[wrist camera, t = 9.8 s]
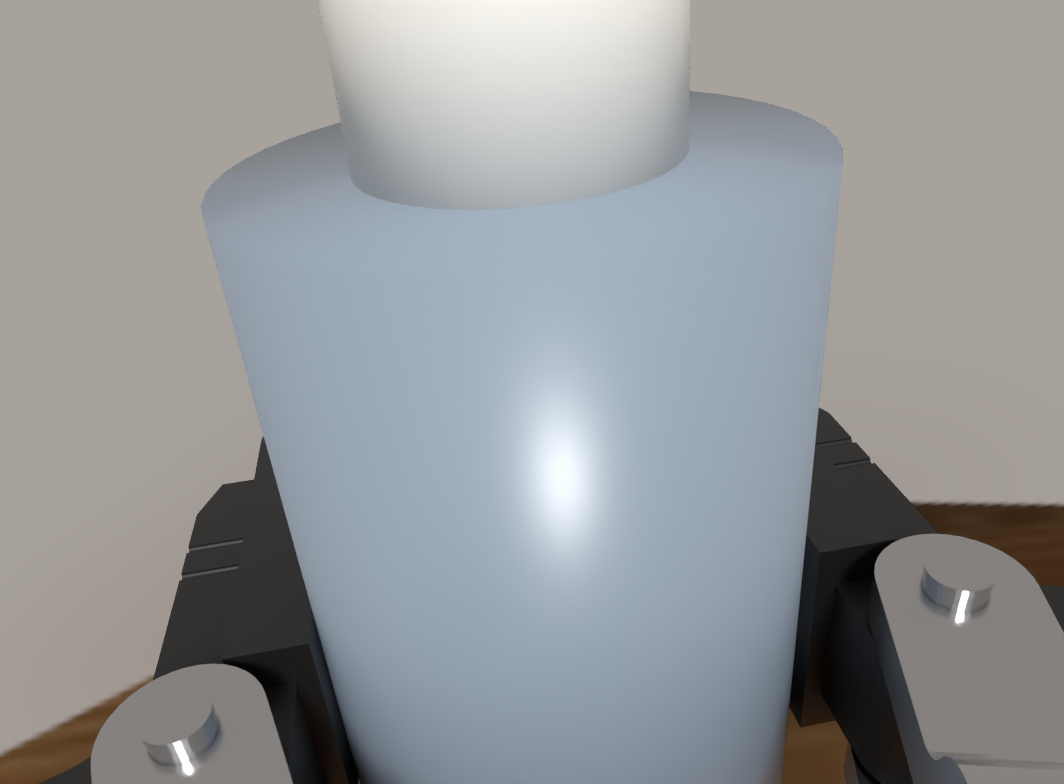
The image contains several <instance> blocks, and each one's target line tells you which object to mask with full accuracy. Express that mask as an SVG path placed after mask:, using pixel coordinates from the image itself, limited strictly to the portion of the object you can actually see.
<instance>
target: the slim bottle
mask: <svg viewBox="0 0 1064 784" xmlns="http://www.w3.org/2000/svg"><path fill="white" fill-rule="evenodd" d="M318 2H319V7H320V12H321V18H322V24H323V29H324V34H325V40H326V45H327V50H328V56H329V60H330V67H331V72H332V77H333V83H334V88H335V93H336V99H337V104H338V110H339V115H340V121H341V123H337V124H334V125H331V126H327V127H324V128H321V129H318V130H314V131H311V132H308V133H305V134H302V135H299V136H297V137H294V138H291V139H288V140H286V141H283V142H281V143H278V144H276V145H274V146H271V147H269V148H267V149H264V150H262V151H260V152H258V153H256V154H254V155H252V156H250V157H248V158H246V159H245V160H243V161H241V162H240V163H238V164H237V165H235V166H233V167H232V168H230V169H229V170H227V171H226V172H225V173H224V174H223V175H221V176H220V177H219V178H218V179H217V180H216V181H214V183H213V184H212V185H211V187H210V188H209V189H208V191H207V192H206V193H205V195H204V199H203V202H202V205H201V208H202V214H203V219H204V223H205V226H206V230H207V233H208V237H209V241H210V244H211V248H212V252H213V255H214V258H215V262H216V266H217V270H218V273H219V276H220V280H221V284H222V288H223V291H224V294H225V298H226V302H227V306H228V309H229V313H230V316H231V320H232V324H233V327H234V331H235V334H236V338H237V342H238V345H239V349H240V352H241V356H242V360H243V363H244V366H245V370H246V374H247V377H248V381H249V385H250V388H251V392H252V395H253V399H254V403H255V406H256V410H257V414H258V417H259V421H260V424H261V428H262V432H263V435H264V439H265V442H266V446H267V450H268V453H269V457H270V460H271V464H272V468H273V471H274V475H275V478H276V482H277V486H278V489H279V493H280V497H281V500H282V504H283V507H284V511H285V515H286V518H287V522H288V525H289V529H290V533H291V536H292V540H293V543H294V547H295V551H296V554H297V558H298V561H299V565H300V569H301V572H302V576H303V579H304V583H305V587H306V590H307V594H308V597H309V601H310V605H311V608H312V612H313V615H314V619H315V623H316V626H317V630H318V633H319V637H320V641H321V644H322V648H323V651H324V655H325V659H326V662H327V666H328V669H329V673H330V677H331V680H332V684H333V687H334V691H335V695H336V698H337V702H338V705H339V709H340V713H341V716H342V720H343V723H344V727H345V731H346V734H347V738H348V741H349V745H350V749H351V752H352V756H353V759H354V763H355V767H356V770H357V774H358V777H359V781H360V784H782V775H783V764H784V754H785V744H786V734H787V724H788V714H789V704H790V694H791V683H792V673H793V663H794V653H795V643H796V633H797V623H798V613H799V603H800V592H801V582H802V572H803V562H804V552H805V542H806V532H807V522H808V511H809V501H810V491H811V481H812V471H813V461H814V451H815V441H816V430H817V420H818V410H819V399H820V390H821V379H822V370H823V359H824V350H825V339H826V329H827V319H828V309H829V299H830V289H831V279H832V269H833V258H834V247H835V238H836V228H837V218H838V208H839V207H838V206H839V198H840V187H841V177H842V167H843V148H842V146H841V144H840V142H839V141H838V138H837V137H836V136H835V135H834V134H833V133H832V132H831V131H829V129H827V128H826V127H825V126H823V125H822V124H820V123H818V122H816V121H815V120H813V119H811V118H809V117H807V116H804V115H802V114H799V113H797V112H794V111H792V110H788V109H785V108H782V107H778V106H775V105H772V104H768V103H763V102H758V101H754V100H749V99H744V98H738V97H732V96H726V95H719V94H710V93H702V92H692V91H689V90H690V80H689V79H690V0H318Z"/></svg>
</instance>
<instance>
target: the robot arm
mask: <svg viewBox="0 0 1064 784" xmlns="http://www.w3.org/2000/svg"><path fill="white" fill-rule="evenodd" d="M789 707H790V708H791V710H792V712H793V714H794V716H795V718H796V720H797V722H798V724H799V725H800V727H804V726H809V725H814V724H819V723H824V722H829V721H834V720H836V721H837V723H838V725H839V726H840V728H841V730H842V731H843V733H844V735H845V737H846V738H847V740H848V743H847V749H846V756H845V764H844V769H845V778H846V783H847V784H1064V587H1057V586H1046V585H1038V583H1037V582H1036V580H1035V579H1034V577H1033V576H1032V575H1031V574H1030V573H1029V572H1028V571H1027V570H1026V568H1025V567H1023V566H1022V565H1021V564H1020V563H1018V562H1017V561H1016V560H1015V559H1013V558H1012V557H1010V556H1008V555H1007V554H1005V553H1004V552H1002V551H1000V550H998V549H996V548H994V547H992V546H989V545H987V544H984V543H981V542H979V541H976V540H972V539H968V538H965V537H960V536H954V535H947V534H939V533H938V532H937V531H936V530H935V529H934V528H933V526H932V525H931V524H930V523H929V522H928V521H927V520H926V519H925V518H924V517H923V516H922V514H921V513H920V512H919V511H918V510H917V509H916V508H915V507H914V506H913V505H912V503H911V502H910V501H909V500H908V499H907V498H906V497H905V496H904V495H903V494H902V493H901V492H900V490H898V488H897V487H896V486H895V485H894V484H893V483H892V482H891V480H890V479H889V478H888V477H887V476H886V475H885V474H884V473H883V472H882V471H881V470H880V468H879V467H878V466H877V465H876V464H875V463H873V464H871V462H870V458H869V456H868V455H867V454H866V453H865V452H864V451H863V450H862V449H861V448H860V447H859V445H858V444H857V443H852V440H851V437H850V436H849V434H848V433H847V432H846V431H845V430H844V429H843V428H842V427H841V426H840V425H839V423H838V422H837V421H836V420H835V419H834V418H833V417H832V416H831V415H830V414H829V413H828V412H826V411H824V410H822V409H820V408H819V410H818V420H817V430H816V441H815V451H814V461H813V471H812V481H811V491H810V501H809V511H808V522H807V532H806V542H805V552H804V562H803V572H802V582H801V592H800V603H799V613H798V623H797V633H796V643H795V653H794V663H793V673H792V683H791V694H790V704H789ZM39 784H358V774H357V770H356V767H355V763H354V759H353V756H352V752H351V749H350V745H349V741H348V738H347V734H346V731H345V727H344V723H343V720H342V716H341V713H340V709H339V705H338V702H337V698H336V695H335V691H334V687H333V684H332V680H331V677H330V673H329V669H328V666H327V662H326V659H325V655H324V651H323V648H322V644H321V641H320V637H319V633H318V630H317V626H316V623H315V619H314V615H313V612H312V608H311V605H310V601H309V597H308V594H307V590H306V587H305V583H304V579H303V576H302V572H301V569H300V565H299V561H298V558H297V554H296V551H295V547H294V543H293V540H292V536H291V533H290V529H289V525H288V522H287V518H286V515H285V511H284V507H283V504H282V500H281V497H280V493H279V489H278V486H277V482H276V478H275V475H274V471H273V468H272V464H271V460H270V457H269V453H268V450H267V446H266V442H265V439H264V436H263V438H262V441H261V446H260V452H259V457H258V462H257V467H256V474H255V478H254V480H249V481H242V482H236V483H230V484H224V485H222V486H221V487H220V489H219V490H218V491H217V492H216V493H215V494H214V495H213V497H212V498H211V499H210V500H209V501H208V503H207V504H206V505H205V506H204V507H203V509H202V510H201V511H200V512H199V513H198V514H197V517H196V521H195V524H194V529H193V532H192V536H191V540H190V543H189V553H187V555H186V558H185V562H184V566H183V570H182V580H181V581H179V585H178V588H177V592H176V596H175V600H174V604H173V608H172V611H171V615H170V619H169V623H168V626H167V630H166V634H165V638H164V641H163V645H162V649H161V652H160V657H159V660H158V664H157V668H156V671H155V675H154V679H153V681H152V682H150V683H148V684H146V685H145V686H143V687H142V688H140V689H139V690H137V691H136V692H135V693H133V694H132V695H131V696H129V697H128V698H127V699H126V700H125V701H124V702H123V703H122V704H121V705H119V706H118V708H117V709H116V710H115V711H114V712H113V713H112V714H111V715H110V717H109V718H108V719H107V721H106V722H105V724H104V725H103V727H102V728H101V730H100V732H99V734H98V736H97V738H96V740H95V743H94V746H93V750H92V754H91V757H90V758H89V759H87V760H85V761H84V762H82V763H81V764H79V765H77V766H75V767H73V768H72V769H70V770H68V771H66V772H64V773H62V774H60V775H57V776H55V777H53V778H51V779H48V780H46V781H44V782H42V783H39Z"/></svg>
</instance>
